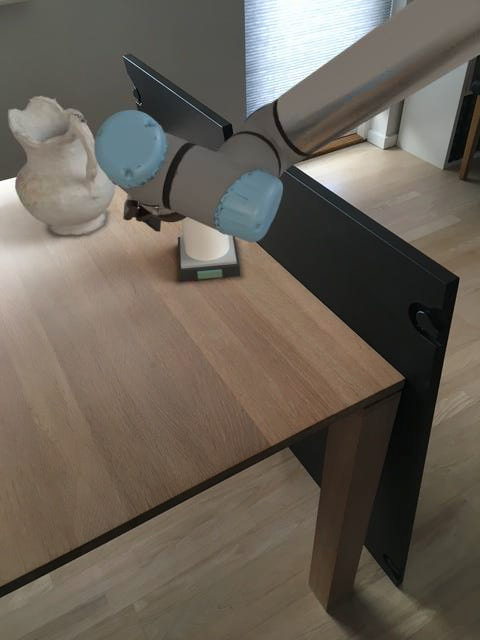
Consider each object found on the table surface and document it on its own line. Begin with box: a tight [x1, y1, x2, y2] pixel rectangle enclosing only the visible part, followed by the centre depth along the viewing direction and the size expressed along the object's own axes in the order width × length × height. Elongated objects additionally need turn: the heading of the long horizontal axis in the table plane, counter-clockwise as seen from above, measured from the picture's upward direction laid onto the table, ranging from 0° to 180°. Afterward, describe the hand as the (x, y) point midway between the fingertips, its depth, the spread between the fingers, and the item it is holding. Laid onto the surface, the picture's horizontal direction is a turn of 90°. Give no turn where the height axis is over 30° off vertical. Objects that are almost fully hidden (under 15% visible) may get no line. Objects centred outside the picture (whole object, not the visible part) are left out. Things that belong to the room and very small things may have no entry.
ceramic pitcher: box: [7, 95, 116, 236], centre depth 106 cm, size 22×20×25 cm
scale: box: [177, 235, 241, 282], centre depth 101 cm, size 11×12×3 cm
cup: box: [180, 217, 229, 261], centre depth 95 cm, size 8×8×16 cm
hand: (198, 225), depth 90 cm, fingers open, 13 cm apart
